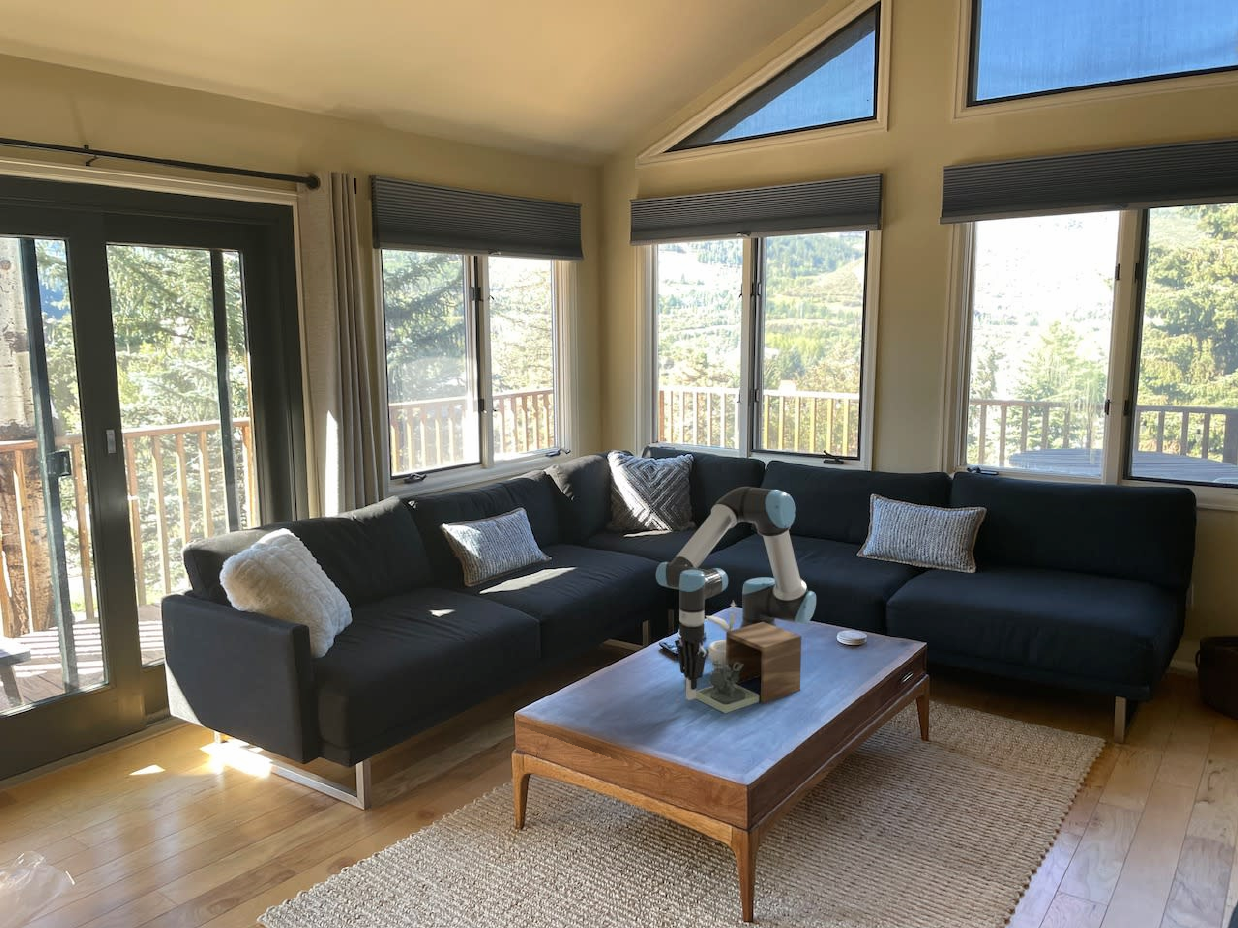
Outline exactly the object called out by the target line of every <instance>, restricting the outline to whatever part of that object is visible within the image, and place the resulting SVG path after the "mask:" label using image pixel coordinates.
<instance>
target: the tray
mask: <svg viewBox="0 0 1238 928" xmlns="http://www.w3.org/2000/svg"><path fill="white" fill-rule="evenodd" d="M733 686H734V687H735V688H737V689H739V690H741V691H743V692H744V693H745V699H742V700H739V701H736V702H734V703H731V704H722V703H720V702H718V701H716V700H714V699H712V698H711V697H710V693H711V691H712V690H714V686H712V685H711V686H707V687H705V688H702V689H699V690H696V698H695V699H696V700H698V701H700V702H702V703H704V704H706V705H708V706H710V707H711V708H713V709H715V710H718V711H720V712H722V713H724V714H727V713H731V712H733V711H737V710H739V709H742V708H745V707H748V706H751V705H753V704H756V703H759V702H760V695H759V694H758V693H756V692H754V691H752V690H749V689H747V688H745V687H742V686H740V685H738V684H733Z"/></svg>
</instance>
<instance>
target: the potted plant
mask: <svg viewBox="0 0 1238 928" xmlns="http://www.w3.org/2000/svg"><path fill="white" fill-rule="evenodd" d="M730 606H731V608H732V610H734V608H735V607H738V604H736V603H735V599H733V600H732V603H731V604H730ZM740 611H741V610H740V609H736V610H735V611H733V613H732V612H730V614H729V615H730V620H729V624H728V622H727V620H725V619H724V618H721V617H718V616H713V615H705V617H706V619H707V620H708V621H710V622H712V623H714V624H715V625H718V627H720V628H721V629H722V630H723V631H724V632H725V633H726V632H728V631H732V629H733V628H734V625H735V623H736V622H735V621H736V616H735V614H738V612H740ZM707 650H708V651H709V653H708V655H707V658H708V660H710V661H711V664H712V667H713V670H714V669H716V668H717V666H715V665H713V663H712V662H713V661H716V660H719V661H721V662H722V665H719V666H718V668H721V669H722V668H723V667H724V666H725V665H726V639H720V640H714V641H712V642H710V643H708V648H707Z"/></svg>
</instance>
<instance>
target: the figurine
mask: <svg viewBox="0 0 1238 928" xmlns="http://www.w3.org/2000/svg"><path fill="white" fill-rule="evenodd" d="M712 663H713V664H712ZM711 664H712V666H713V665H715V666H717V668H716V669H714V668H713V670H712V671H711V673H710V674H709V676H708V681H709V684H710V685H711V686H714V690H712V691H711V693H710V697H711V698H712V699H714V700H716V701H718V702H720V703H722V704H731V703H734V702H736V701H739V700H742V699H745V693H744V692H743V691H741V690H739V689H737V688H735V687H734V686H733V684H735V683H737V682H738V680H739V673H740V672H739V670H740V669H741V668H742V667H743V666H744V664H742V663H741V664H740V663H739V662H736V663H735V664H734V666H733V670H731V669H732V668H731V667H729V666H728V665H725V666H724V667H723V668H722V669H721V668H718V666H719V665H722V662H721V661H719V660H716V661H713V662H712V661H711ZM736 664H738V667H737V668H736V669H735V665H736ZM733 671H738V673H731V672H733ZM732 675H733V677H732Z"/></svg>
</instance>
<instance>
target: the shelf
mask: <svg viewBox="0 0 1238 928" xmlns="http://www.w3.org/2000/svg"><path fill="white" fill-rule="evenodd" d="M725 635H726V636H725V637H726V638H725V640H726V665H728V666H729V667H731V668H732V669H731V670H733V666H734V664H735V663H736V662H739V663H740V664H741V663H742V664H744V666H743V667H742V668H741V669H740V670H739V672H740V673H739V680H738V682H737V683H735V684H736V685H738V684H740V683H744V682H746V681H750V680H753V679H755V678H759V677H761V679H760V681H761V683H760V687H761V688H760V689H761V690H760V691H761V692H760V703H761V704H765V703H768V702H772V701H774V700H777V699H779V698H782V697H787V696H788V695H791V694H794V693H797V692H800V691H801V662H802V660H801V659H802V658H801V657H802V653H801V651H802V635H799V634H796V633H794V632H792V631H788V630H786V629H784V628H780V627H778V626H776V627H775V626H773V625H770V624H767V623H765V622H760V623H757V624H753V625H750V626H746V627H743V628H740V627H739V628H737V629H736V628H735V629H733V630H732V629H731V631H728V632H726V631H725ZM737 667H738V664H736V665H735V669H736V668H737ZM731 673H738V671H733V672H731ZM732 677H733V675H732Z"/></svg>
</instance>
